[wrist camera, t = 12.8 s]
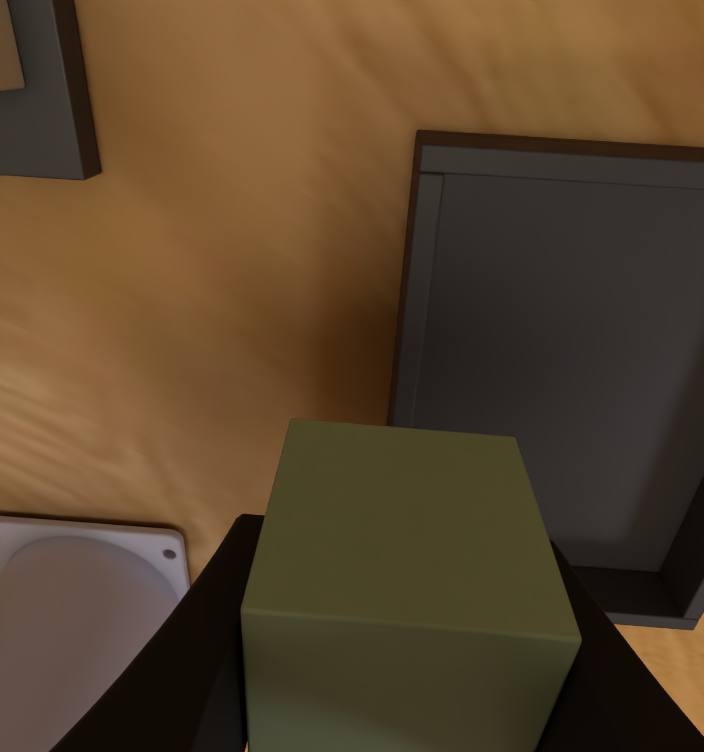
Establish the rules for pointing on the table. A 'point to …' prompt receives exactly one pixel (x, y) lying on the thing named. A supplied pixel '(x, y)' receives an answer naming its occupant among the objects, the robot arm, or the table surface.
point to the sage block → (402, 597)
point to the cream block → (8, 53)
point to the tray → (569, 344)
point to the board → (47, 97)
